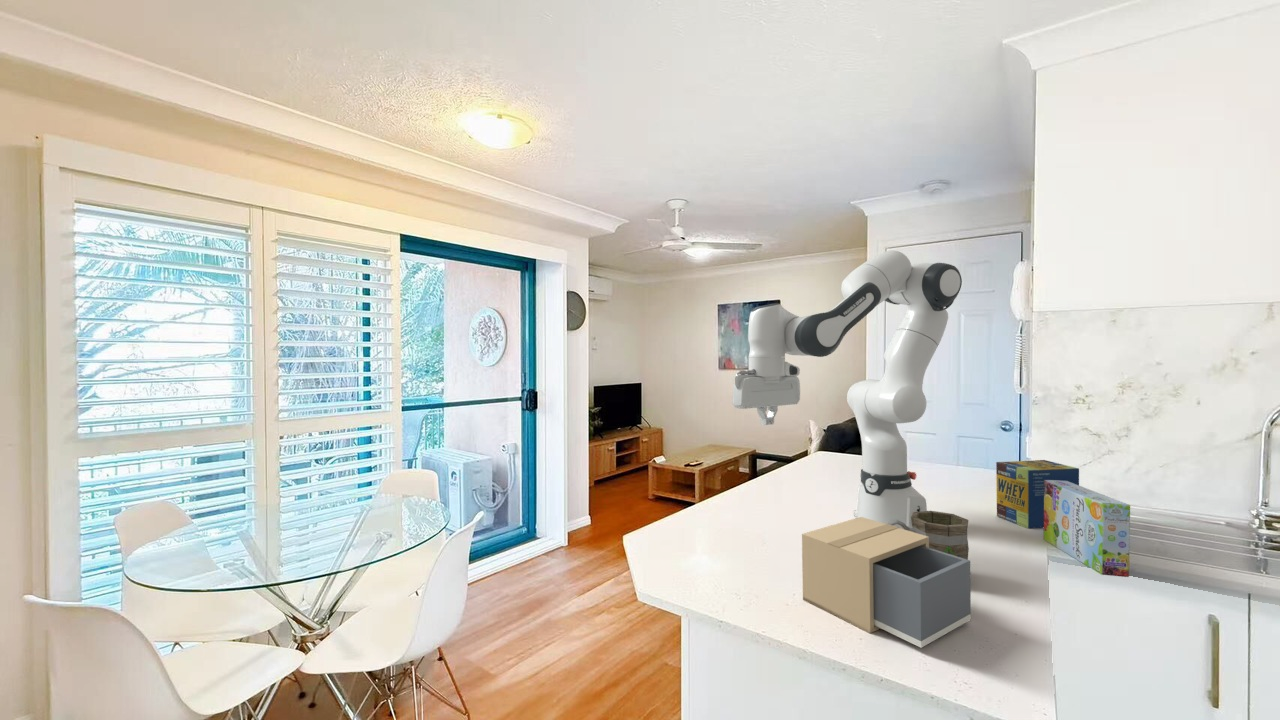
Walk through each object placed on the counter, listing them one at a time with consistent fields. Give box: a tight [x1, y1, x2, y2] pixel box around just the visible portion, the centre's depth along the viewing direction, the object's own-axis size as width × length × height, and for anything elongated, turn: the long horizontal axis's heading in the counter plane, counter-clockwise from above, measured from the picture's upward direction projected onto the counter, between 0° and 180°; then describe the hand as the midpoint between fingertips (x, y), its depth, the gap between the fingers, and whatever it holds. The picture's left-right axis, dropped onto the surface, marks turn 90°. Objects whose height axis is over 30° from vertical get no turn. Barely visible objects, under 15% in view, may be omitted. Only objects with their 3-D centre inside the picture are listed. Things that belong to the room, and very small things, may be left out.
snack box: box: [1043, 480, 1131, 578], centre depth 114 cm, size 21×6×15 cm, turn 168°
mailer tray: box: [873, 545, 972, 649], centre depth 92 cm, size 15×22×10 cm
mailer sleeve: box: [801, 517, 929, 634], centre depth 95 cm, size 18×14×13 cm
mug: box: [888, 510, 970, 560], centre depth 106 cm, size 16×11×12 cm
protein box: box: [995, 459, 1080, 529], centre depth 138 cm, size 10×15×16 cm
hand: (767, 424), depth 126 cm, fingers closed
